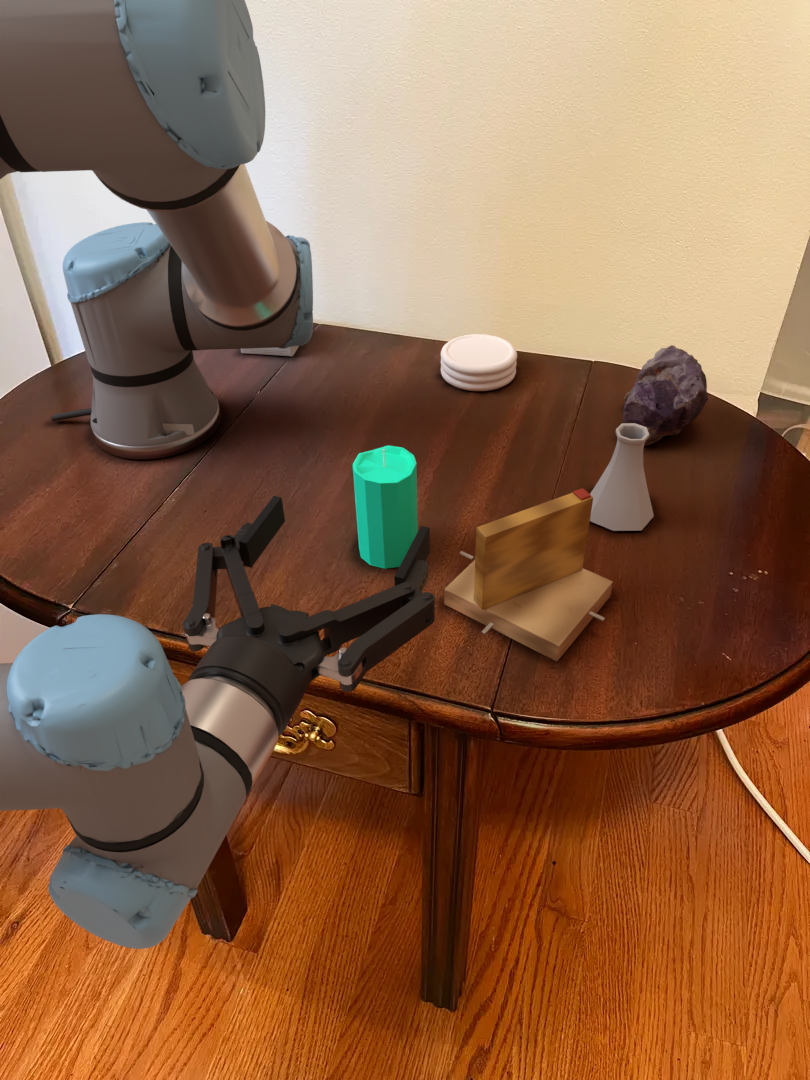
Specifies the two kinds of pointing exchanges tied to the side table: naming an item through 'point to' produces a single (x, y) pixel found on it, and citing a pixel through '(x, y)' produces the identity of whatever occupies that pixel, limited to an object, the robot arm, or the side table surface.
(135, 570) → the side table surface
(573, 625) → the plate
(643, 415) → the rock
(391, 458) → the candle
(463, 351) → the coaster
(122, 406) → the robot arm
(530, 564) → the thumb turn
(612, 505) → the flask
